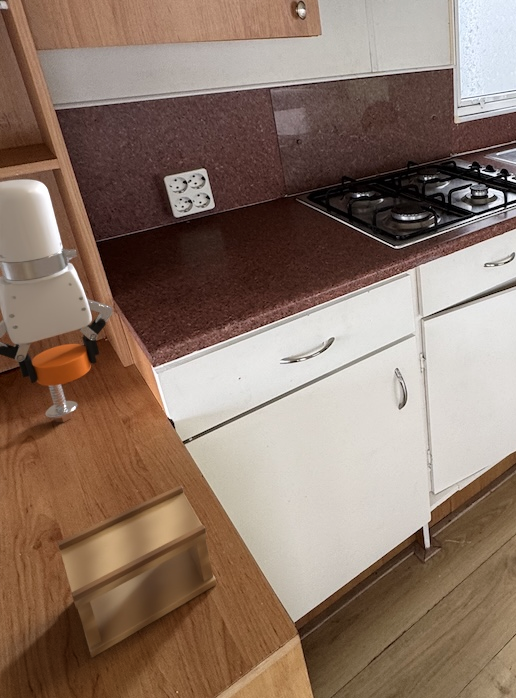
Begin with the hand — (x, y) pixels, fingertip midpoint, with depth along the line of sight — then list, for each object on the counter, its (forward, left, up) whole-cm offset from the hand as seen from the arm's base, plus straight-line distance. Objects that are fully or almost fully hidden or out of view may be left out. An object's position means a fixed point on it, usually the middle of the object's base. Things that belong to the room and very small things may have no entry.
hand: (63, 368), depth 91 cm
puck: (0, 0, -1) cm, 1 cm away
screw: (-8, +15, -19) cm, 26 cm away
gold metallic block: (+13, -30, -19) cm, 37 cm away
